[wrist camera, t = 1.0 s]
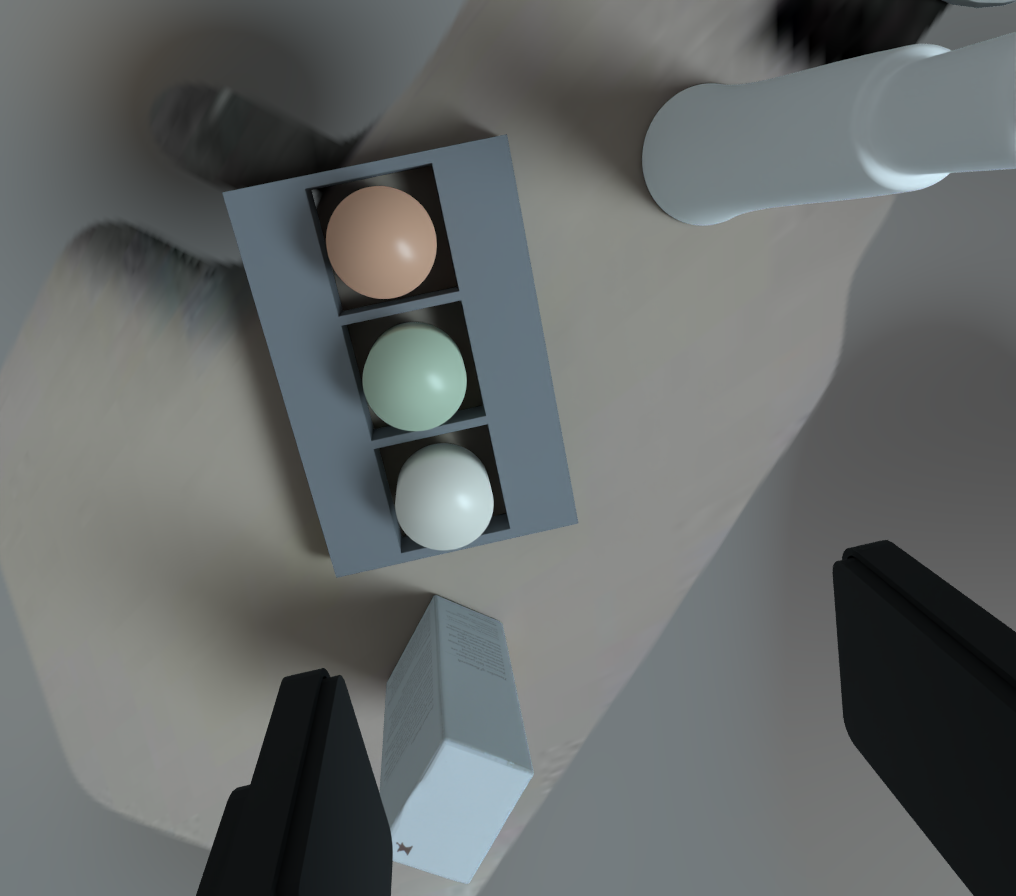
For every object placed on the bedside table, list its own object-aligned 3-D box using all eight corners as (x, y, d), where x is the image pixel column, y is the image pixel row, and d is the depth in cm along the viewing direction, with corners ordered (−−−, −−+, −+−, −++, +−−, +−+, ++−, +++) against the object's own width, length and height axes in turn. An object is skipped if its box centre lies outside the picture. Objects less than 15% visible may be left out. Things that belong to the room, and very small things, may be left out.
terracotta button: (423, 177, 33) (422, 175, 31) (445, 281, 34) (447, 286, 32) (320, 198, 33) (313, 198, 31) (347, 302, 34) (342, 308, 32)
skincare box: (456, 709, 43) (467, 891, 31) (384, 681, 42) (370, 859, 31) (507, 619, 42) (538, 775, 30) (435, 589, 41) (439, 738, 29)
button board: (502, 138, 34) (507, 134, 33) (571, 508, 40) (578, 523, 38) (233, 193, 34) (221, 192, 32) (340, 559, 40) (336, 577, 38)
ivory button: (479, 433, 37) (482, 449, 34) (497, 518, 38) (502, 538, 36) (387, 454, 37) (384, 470, 34) (409, 538, 38) (408, 559, 36)
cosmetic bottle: (715, 52, 34) (1169, -187, 13) (795, 160, 36) (1308, 95, 15) (614, 152, 35) (891, 74, 14) (696, 252, 37) (1052, 314, 16)
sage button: (452, 312, 35) (454, 320, 33) (472, 406, 36) (476, 419, 34) (355, 333, 35) (350, 342, 32) (379, 426, 36) (376, 440, 34)
